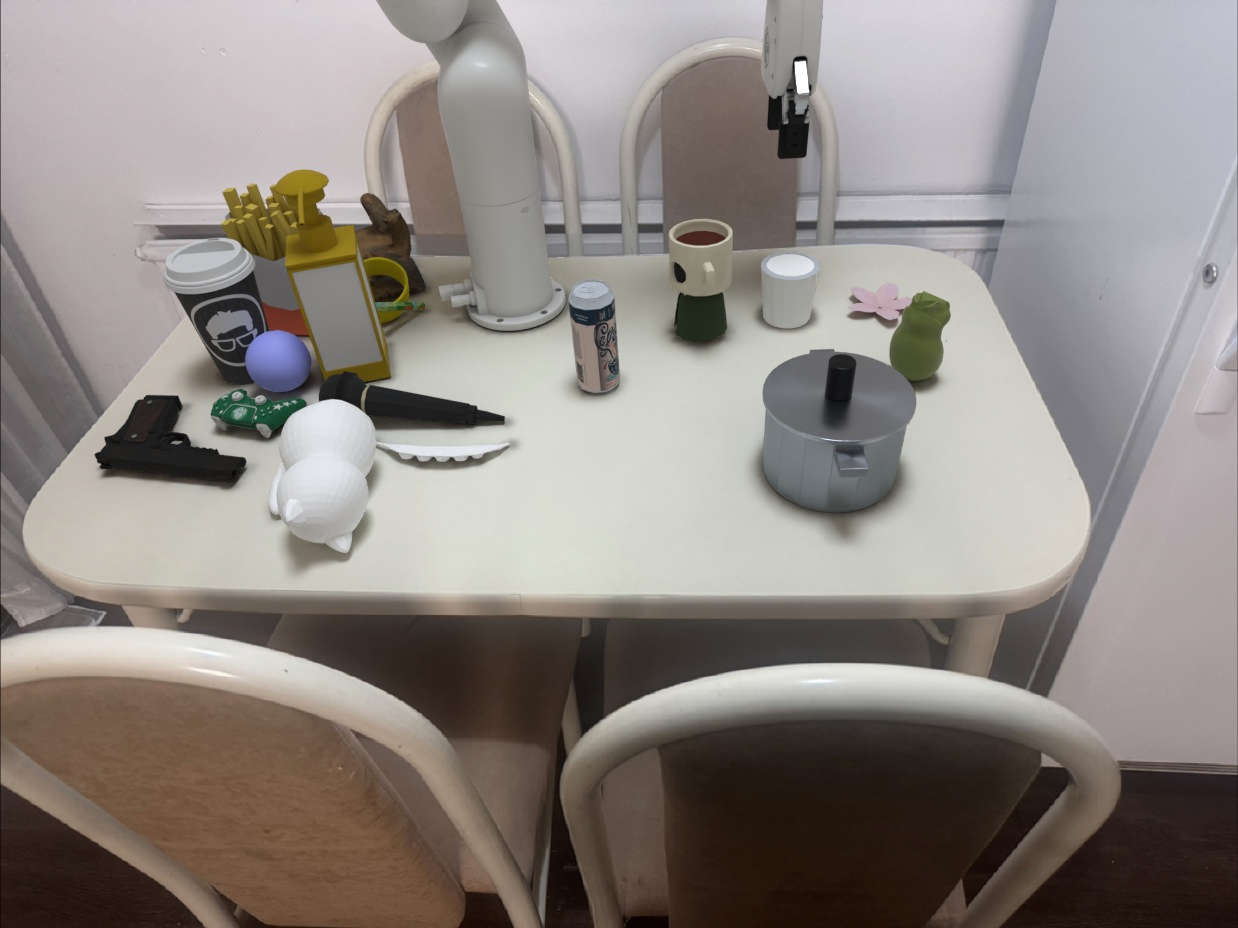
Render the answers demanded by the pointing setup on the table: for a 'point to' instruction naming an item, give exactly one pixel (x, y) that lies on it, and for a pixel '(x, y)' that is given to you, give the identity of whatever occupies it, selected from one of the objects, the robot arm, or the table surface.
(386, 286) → the figurine
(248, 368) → the sphere
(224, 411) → the gaming controller
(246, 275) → the coffee cup
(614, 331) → the beer can
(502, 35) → the robot arm
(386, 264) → the bracelet
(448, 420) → the microphone
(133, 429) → the pistol
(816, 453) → the pot
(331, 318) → the soap bottle
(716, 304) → the character mug
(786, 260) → the white short cylinder
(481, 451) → the pea pod
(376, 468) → the table surface
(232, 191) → the french fries container
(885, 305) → the flower
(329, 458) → the cat figurine
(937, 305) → the pear
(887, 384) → the pot lid
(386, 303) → the pencil
